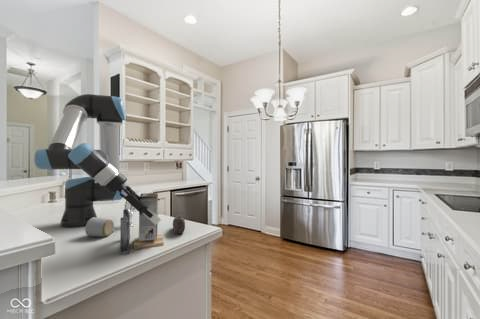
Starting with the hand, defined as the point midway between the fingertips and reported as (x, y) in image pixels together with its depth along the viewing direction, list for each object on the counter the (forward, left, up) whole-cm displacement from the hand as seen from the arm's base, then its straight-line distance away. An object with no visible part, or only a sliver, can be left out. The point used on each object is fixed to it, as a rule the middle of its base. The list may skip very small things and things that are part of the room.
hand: (157, 218), depth 90 cm
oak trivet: (0, -3, -9) cm, 9 cm away
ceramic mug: (-18, -21, -9) cm, 29 cm away
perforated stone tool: (-11, +10, -9) cm, 17 cm away
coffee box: (0, -3, -7) cm, 7 cm away
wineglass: (-29, -10, -9) cm, 32 cm away
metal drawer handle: (0, -11, -9) cm, 14 cm away
